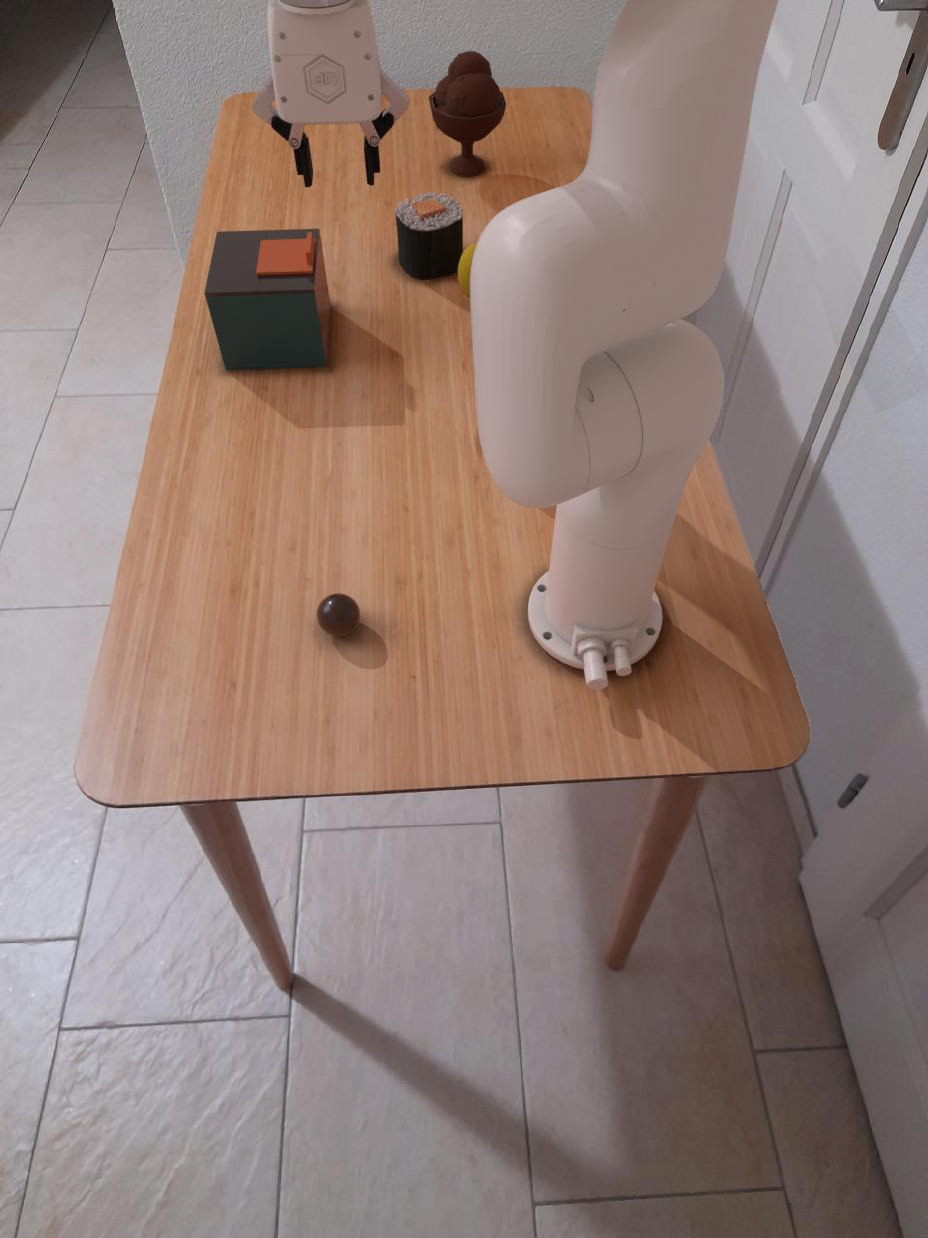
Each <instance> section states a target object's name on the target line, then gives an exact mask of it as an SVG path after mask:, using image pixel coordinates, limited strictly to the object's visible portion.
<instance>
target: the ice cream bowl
mask: <svg viewBox="0 0 928 1238" xmlns="http://www.w3.org/2000/svg"><path fill="white" fill-rule="evenodd" d="M492 73H493V72H492V69H491V63H490V61H489V60H487V58H486V57H484V55H482V54H481V53H480V52H477V51H474V50H466V51H464V52H460V53H458V54H457V55H456V56H455V57H454V58H453V59H452V61H451V62H450V63H449V65H448V67H447V75H445V76H444V77H443V78H442V79H441V80H439V81H438V83H437V85H436V88H435V91H434V92H433V93H431V94H430V95H429V96H428V101H429V106H430V110H431V115H432V120H433V122H434V124H435V127H436V128H437V129H438V130H439V131H440V132H441V133H443V135H445V136H447V137H448V138H450V139H452V140H454V141H455V142H457V143H460V145H461V146H460V147H461V148H460V151H461V152H460V154H459V155H457V156H455V157H454V158H452V159H451V160H450V161H449V164H448V167H449V172H451V173H452V174H454V175H456V176H457V177H467V178H471V177H475V176H479V175H481V174H482V173H483V172H485V170H486V166H485V162H484V159H482V158H481V157H479V156H477V155H475V154H474V143H475V142H480V141H481V140H483V139H485V138H486V137H487V136H488V135H489V134H491V133H492V132H493V131H494V130H495V129H496V128H497V127H498V126H499V125H500V124H501V122H502V120H503V118H504V115H505V112H506V107H507V102H506V98H505V95H504V92H503V91H501V89H500V87H499V85H498V84H497V82H496V80H495V78H494V77H493V76H492Z"/></svg>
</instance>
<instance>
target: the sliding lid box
mask: <svg viewBox="0 0 928 1238" xmlns="http://www.w3.org/2000/svg"><path fill="white" fill-rule="evenodd" d="M308 232H312V233H313V238H314V239H315V252H314V263H313V274H293V275H261V276H257V274H256V271H257V264H258V257H259V251H260V244H261V240H282V239H307V233H308ZM214 238H215V239H214V243H213V249H212V253H211V259H210V263H209V268H208V273H207V278H206V282H205V287H204V292H203V294H204V296H205V300H206V305H207V308H208V311H209V315H210V319H211V323H212V326H213V329H214V333H215V337H216V340H217V345H218V348H219V351H220V354H221V359H222V361H223V366H224V369H225V371H244V370H245V371H247V370H274V369H275V370H277V369H278V370H279V369H305V368H306V369H307V368H327V366H328V352H329V339H330V338H329V337H330V336H329V335H330V322H331V308H332V307H331V306H332V305H331V299H330V291H329V286H328V277H327V271H326V265H325V258H324V251H323V245H322V238H321V230H320V228H293V229H292V228H291V229H288V228H287V229H263V230H262V229H260V230H258V229H256V230H226V231H225V230H224V231H216V234H215V237H214Z"/></svg>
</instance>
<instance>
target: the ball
mask: <svg viewBox="0 0 928 1238" xmlns="http://www.w3.org/2000/svg"><path fill="white" fill-rule="evenodd" d="M360 620H361V609H360V606H359V605H358V603H357V602H356V600H355V599H354V598H353V597H351V596H350V595H348V594H346V593H339V592H338V593H337V592H336V593H331V594H329V595H327V596H325V597H324V598H323V599H322V600H321V601H320V603H319V604H318V606H317V609H316V621H317V624H318V626H319V627H320V628H321V630H322V631H324V633H326V634H328V635H329V636H333V637H344V636H347V635H349V634H351V633H352V632H354V630H355V629H357V627H358V626H359V623H360Z"/></svg>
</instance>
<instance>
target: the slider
mask: <svg viewBox="0 0 928 1238" xmlns="http://www.w3.org/2000/svg"><path fill="white" fill-rule="evenodd" d="M314 252H315V239H314V238H313V233H312V232H308V233H307V239H282V240H261V244H260V251H259V257H258V264H257V271H256V274H257V276H261V275H293V274H313V263H314Z"/></svg>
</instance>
